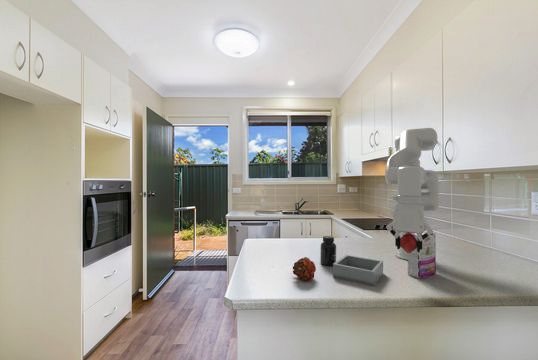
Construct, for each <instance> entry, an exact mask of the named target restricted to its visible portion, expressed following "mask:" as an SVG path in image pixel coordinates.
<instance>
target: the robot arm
mask: <svg viewBox="0 0 538 360" xmlns="http://www.w3.org/2000/svg"><path fill="white" fill-rule="evenodd" d="M437 143H438V133H437V131H436V130H435V129H434V128H432V127H424V128H423V127H422V128H421V127H420V128H411V129H407V130H404V131H403V132H401V134H400V135H398V136H396V137H395V139H394V148H395V153H393V154H392V155H390V157H389V158H388V160H387V162H386V163H385V164H386V166H385V171H384V175H385V176H384V177H385V178H384V179H385V182H386V184H388V186H389V185H390V186H397V193H396V194H397V195H396V196H392V200H393V201H396V203H395V204H394V207H393V213H392V221H390V222H389V223H388V224H387V225H386V226H385V229H387V231H389V232H390V234H392V236H393V237H394V238H395V240H394V241H395V242H394V244H395V245H394V246H395V247H396V249H397V250H398V251H395V252H394V256H395V257H396V258H398V259H402V260H406V261H408V253H407V252H406V251H405V250H404V249H403V248H402V247H401V246H400V239H401V237H402V236H403V235H404V234H406V233H407V232H409V233H416V234H417V236H418V241H417V252H420V249H421V250H422V241H423V240H424V239H425V238H427V237H428V236H429V235H431V234H432V233H435V232H434V229H432V227H430V226H429V224H427V223H426V216H425V213H427V214H428V213H432V214H433V213H437V212H438V211H439V208H440V193H439V192H440V187H439V186H440V185H439V183H440V182H439V175H438V173H437V172H436V171H435V170H432V169H425V168H424V167H422V166H421V161H420V159H421V156H422V152H425V151H426V152H427V151H432V150H434V149H435V147H436V146H437ZM423 190H424V192H422V191H423ZM424 231H427V232H426V233H425V234H423V235H422V233H423V232H424Z"/></svg>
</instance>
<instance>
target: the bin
mask: <svg viewBox="0 0 538 360" xmlns="http://www.w3.org/2000/svg"><path fill="white" fill-rule="evenodd" d="M383 275H384V260H379V259H372V258H366V257H360V256H355V255H350V254H345V255H344V256H342V257H340V258H339V259H337V260H336V262H335V263H334V264H333V266H332V277H333V278H336V279H341V280H344V281H348V282H349V281H350V282H354V283H358V284H362V285H365V286H366V285H367V286H371V287H375V285H376V284H377V283H378V281H379V280H380V278H382V276H383Z"/></svg>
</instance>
